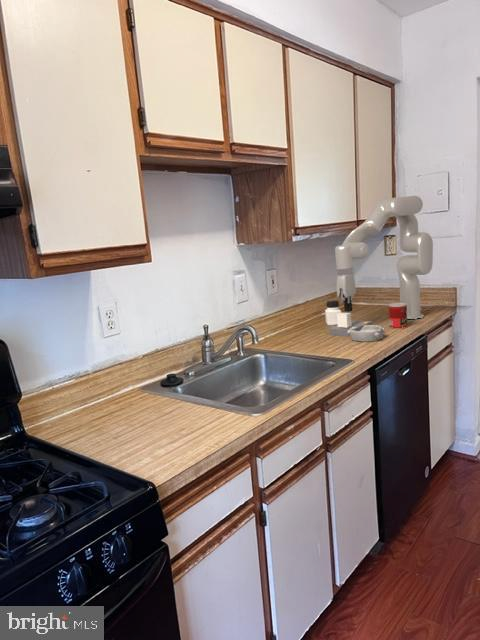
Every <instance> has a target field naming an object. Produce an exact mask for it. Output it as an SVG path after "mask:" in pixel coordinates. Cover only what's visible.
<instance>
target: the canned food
mask: <svg viewBox="0 0 480 640" xmlns="http://www.w3.org/2000/svg"><path fill="white" fill-rule="evenodd" d="M388 313H389V315H388V317H389V320H388V321H389V327H390V328H391V327H393V328H392V329H395V328H401V329H403V328H402V327H406V326H407V327H408V320H407V305H406V303H400V302H391V303H389V304H388ZM407 327H406V328H407Z"/></svg>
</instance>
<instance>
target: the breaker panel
mask: <svg viewBox="0 0 480 640" xmlns="http://www.w3.org/2000/svg"><path fill="white" fill-rule="evenodd" d="M351 323H352V326H350V327H348V328H346V327H338V325H333V326H332V327H329V328H328V331H329V332H328V335H329V336H339V337H341V336H342V337H350V335H348V334H347V331H348V330H350V329H351V328H353V330H354V331H360V330H361V329H362V328H363V326H365V325H374V324H373V321H372V320H359V319H358V320H355V319H354V320H353V319H351Z"/></svg>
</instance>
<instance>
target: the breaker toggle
mask: <svg viewBox="0 0 480 640" xmlns="http://www.w3.org/2000/svg"><path fill="white" fill-rule="evenodd" d="M351 320H352V313H351V312H341V313H339V314H337V323H338V327H346V328H348V327H350V326H352V323H351Z"/></svg>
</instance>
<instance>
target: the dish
mask: <svg viewBox="0 0 480 640" xmlns="http://www.w3.org/2000/svg"><path fill="white" fill-rule="evenodd" d="M385 332H386V330H385V328H384V327H382V326H380V325H376V324H373V325H365V326H363V328H362V329H361V330H360V331H354V330H353V328H351V329H350V330H348V331H347V334H348V335H350V336H349V337H350V339H351V340H352V341H355V342H377V341H380V340H382V339H383V337H384V334H385Z"/></svg>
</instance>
